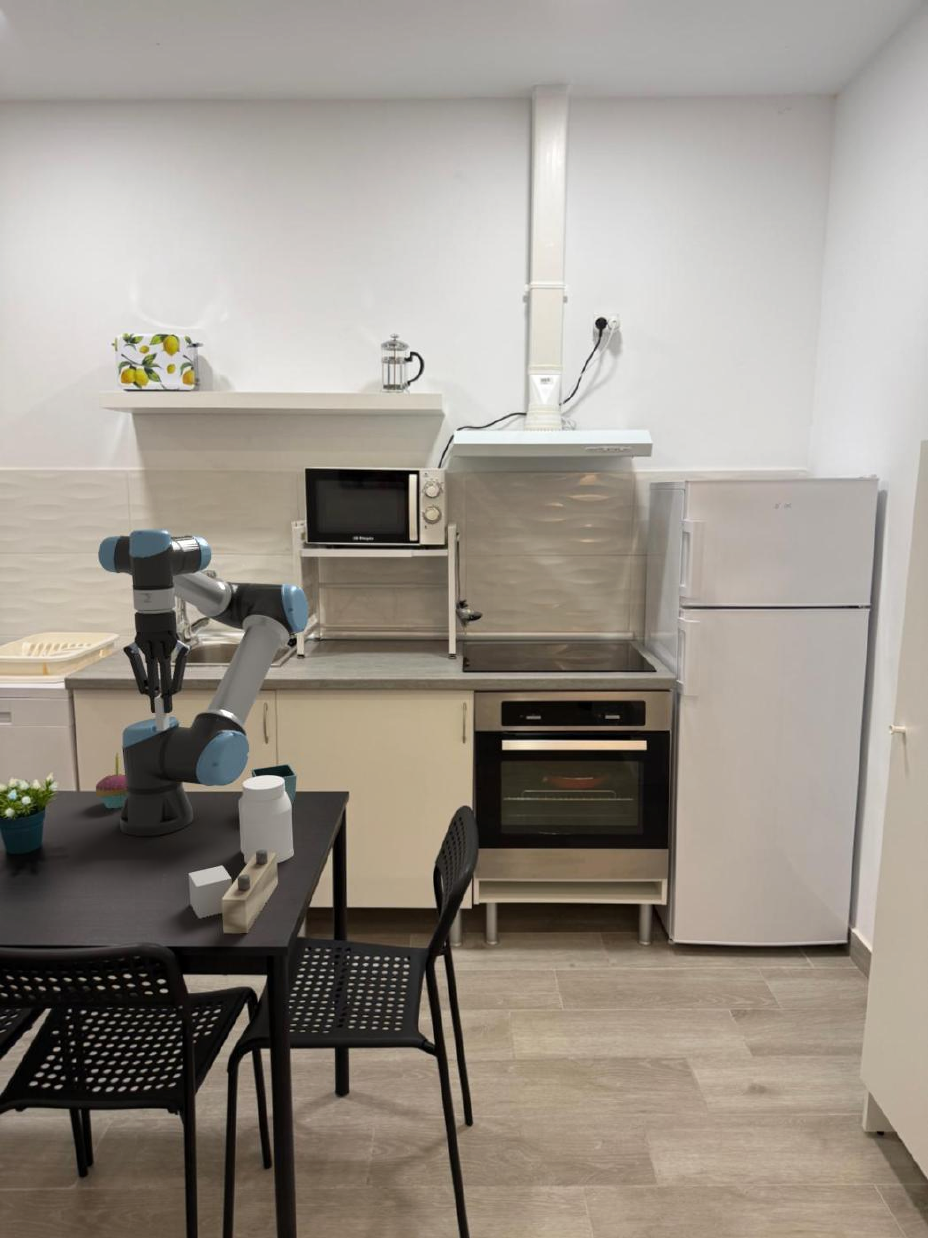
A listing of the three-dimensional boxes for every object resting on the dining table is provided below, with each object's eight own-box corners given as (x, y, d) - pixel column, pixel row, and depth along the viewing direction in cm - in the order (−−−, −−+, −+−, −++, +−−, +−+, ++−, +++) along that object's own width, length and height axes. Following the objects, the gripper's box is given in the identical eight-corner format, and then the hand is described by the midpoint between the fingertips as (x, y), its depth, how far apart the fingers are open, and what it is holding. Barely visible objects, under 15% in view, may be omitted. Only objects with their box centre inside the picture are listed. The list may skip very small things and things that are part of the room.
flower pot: (259, 819, 191) (257, 781, 189) (252, 806, 199) (250, 769, 197) (298, 813, 194) (297, 775, 193) (290, 800, 202) (288, 763, 201)
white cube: (190, 905, 153) (188, 873, 152) (224, 896, 156) (222, 865, 155) (198, 919, 148) (196, 886, 147) (233, 910, 151) (231, 878, 150)
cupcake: (107, 798, 205) (103, 749, 203) (142, 798, 204) (138, 750, 203) (90, 812, 196) (86, 761, 194) (127, 812, 196) (123, 761, 194)
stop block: (223, 933, 143) (220, 888, 142) (256, 883, 161) (254, 842, 159) (247, 933, 143) (244, 888, 141) (277, 883, 160) (275, 843, 159)
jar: (239, 846, 177) (235, 776, 175) (285, 838, 181) (282, 770, 178) (246, 869, 167) (242, 795, 164) (296, 860, 170) (293, 788, 168)
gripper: (113, 613, 162) (122, 734, 166) (180, 613, 161) (188, 734, 165) (131, 607, 169) (139, 723, 173) (195, 607, 168) (202, 723, 172)
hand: (163, 728), depth 169 cm, fingers closed
